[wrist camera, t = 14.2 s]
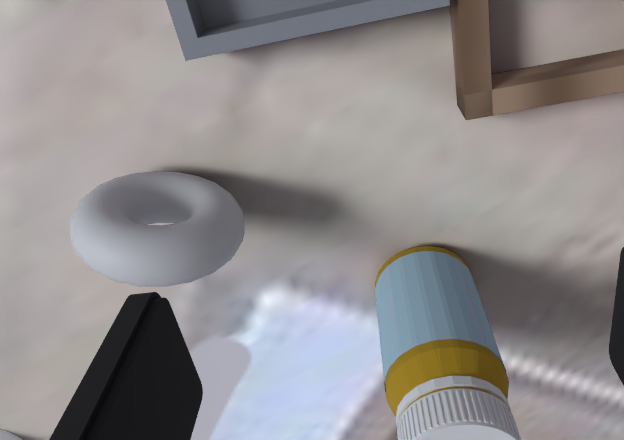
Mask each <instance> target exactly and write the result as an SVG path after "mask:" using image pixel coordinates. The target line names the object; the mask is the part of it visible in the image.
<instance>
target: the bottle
mask: <svg viewBox="0 0 624 440" xmlns="http://www.w3.org/2000/svg"><path fill="white" fill-rule="evenodd" d="M375 296H376V305H377V315H378V325H379V334H380V344H381V354H382V363H383V373H384V383H385V392H386V397H387V402H388V404H389V406H390V408H391V410H392V411H393V413H394V415H395V417H396V424H397V429H398V432H397V434H398V440H521V438H520V435H519V432H518V429H517V426H516V423H515V420H514V417H513V415H512V413H511V410H510V406H509V403H508V400H507V398H508V386H509V381H508V377H507V374H506V370H505V367H504V364H503V361H502V359H501V356H500V353H499V350H498V347H497V345H496V342H495V339H494V336H493V333H492V330H491V328H490V325H489V322H488V319H487V316H486V314H485V311H484V308H483V305H482V302H481V300H480V297H479V294H478V291H477V288H476V286H475V283H474V280H473V277H472V275H471V273H470V270H469V268H468V266H467V264H466V263H465V262H464V261H463V260H462V259H461V258H460V257H459V256H458V255H457V254H455V253H453V252H451V251H449V250H447V249H444V248H439V247H433V246H423V247H414V248H410V249H408V250H405V251H402V252H400V253H398V254H396V255H395V256H393V257H392V258H390V259H389V260H388V261H387V262H386V263H385V264H384V265H383V267H382V268H381V269H380V271H379V272H378V275H377V278H376V281H375Z"/></svg>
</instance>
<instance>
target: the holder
mask: <svg viewBox="0 0 624 440" xmlns="http://www.w3.org/2000/svg"><path fill="white" fill-rule="evenodd" d="M450 13H451V27H452V40H453V53H454V66H455V80H456V93H457V105H458V107H459V109H460V111H461V112H462V114H463V116H464V118H465V119H466V120H470V119H476V118H481V117H487V116H492V115H498V114H503V113H509V112H515V111H520V110H526V109H531V108H537V107H542V106H548V105H553V104H559V103H564V102H570V101H575V100H581V99H586V98H592V97H598V96H603V95H609V94H614V93H620V92H624V49H623V50H617V51H612V52H607V53H602V54H596V55H591V56H586V57H581V58H575V59H570V60H565V61H560V62H554V63H549V64H544V65H539V66H533V67H528V68H523V69H518V70H512V71H507V72H502V73H497V74H491V56H490V31H489V7H488V0H450Z"/></svg>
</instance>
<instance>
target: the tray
mask: <svg viewBox="0 0 624 440" xmlns="http://www.w3.org/2000/svg"><path fill="white" fill-rule="evenodd" d="M166 2H167V5H168V8H169V11H170V14H171V17H172V20H173V23H174V26H175V29H176V32H177V36H178V39H179V42H180V45H181V48H182V51H183V54H184V57H185V60H186V61H187V60H191V59H196V58H201V57H206V56H211V55H215V54H220V53H225V52H230V51H234V50H239V49H244V48H249V47H253V46H258V45H263V44H268V43H273V42H277V41H282V40H287V39H292V38H296V37H301V36H306V35H311V34H316V33H320V32H325V31H330V30H335V29H339V28H344V27H349V26H354V25H358V24H363V23H368V22H373V21H378V20H382V19H387V18H392V17H397V16H401V15H406V14H411V13H416V12H421V11H425V10H430V9H435V8H440V7H444V6H449V5H450V2H449V0H166Z"/></svg>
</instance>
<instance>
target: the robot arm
mask: <svg viewBox="0 0 624 440" xmlns="http://www.w3.org/2000/svg"><path fill="white" fill-rule="evenodd" d="M609 355H610V359H611V362H612V365H613V367H614V369H615V371H616V372H617V374H618V376H619V378H620V380H621V381H622V383H623V385H624V247H623V248H622V250H621V255H620V263H619V271H618V279H617V287H616V295H615V303H614V311H613V319H612V327H611V335H610V343H609ZM202 394H203V391H202V384H201V381H200V379H199V376H198V373H197V371H196V368H195V366H194V364H193V361H192V358H191V356H190V353H189V351H188V348H187V346H186V343H185V341H184V338H183V336H182V333H181V331H180V328H179V326H178V323H177V321H176V318H175V316H174V313H173V311H172V308H171V306H170V303H169V301H168V300H167V299H166V298H161V297H160V295H159V294H158V293H156V292H151V293H142V294H133V295H130V296H128V298H127V299H126V301H125V303H124V304H123V306H122V308H121V310H120V312H119V314H118V315H117V317H116V319H115V321H114V323H113V325H112V326H111V328H110V330H109V332H108V334H107V335H106V337H105V339H104V341H103V343H102V345H101V346H100V348H99V350H98V352H97V354H96V355H95V357H94V359H93V361H92V363H91V365H90V366H89V368H88V370H87V372H86V374H85V376H84V377H83V379H82V381H81V383H80V385H79V386H78V388H77V390H76V392H75V394H74V396H73V397H72V399H71V401H70V403H69V405H68V407H67V408H66V410H65V412H64V414H63V416H62V417H61V419H60V421H59V423H58V425H57V427H56V428H55V430H54V432H53V434H52V436H51V438H50V439H49V440H190V439H191V435H192V432H193V429H194V425H195V421H196V418H197V414H198V411H199V408H200V404H201V401H202Z"/></svg>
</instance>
